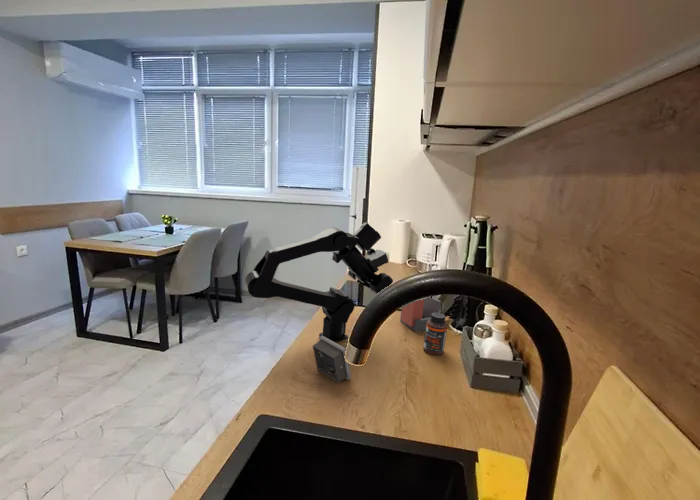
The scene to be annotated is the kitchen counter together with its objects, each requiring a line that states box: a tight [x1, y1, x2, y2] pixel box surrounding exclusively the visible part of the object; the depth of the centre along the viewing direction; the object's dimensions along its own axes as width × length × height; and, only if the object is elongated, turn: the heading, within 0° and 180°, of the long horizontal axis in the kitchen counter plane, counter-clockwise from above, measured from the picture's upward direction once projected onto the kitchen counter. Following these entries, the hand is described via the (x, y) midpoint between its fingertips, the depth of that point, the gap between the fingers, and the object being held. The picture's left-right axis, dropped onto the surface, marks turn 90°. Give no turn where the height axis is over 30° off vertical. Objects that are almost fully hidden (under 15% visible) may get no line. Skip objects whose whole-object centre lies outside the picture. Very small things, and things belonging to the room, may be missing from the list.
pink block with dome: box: [400, 299, 424, 327], centre depth 127 cm, size 4×6×11 cm
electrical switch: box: [312, 336, 352, 384], centre depth 93 cm, size 9×5×9 cm, turn 45°
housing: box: [399, 296, 442, 333], centre depth 129 cm, size 8×10×10 cm
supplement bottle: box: [422, 312, 448, 355], centre depth 111 cm, size 6×6×11 cm
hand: (383, 293), depth 120 cm, fingers open, 5 cm apart
